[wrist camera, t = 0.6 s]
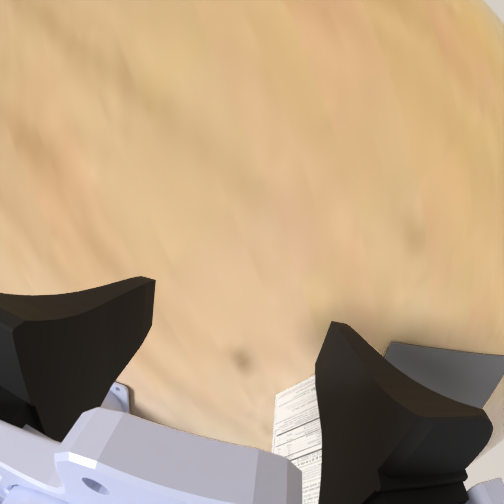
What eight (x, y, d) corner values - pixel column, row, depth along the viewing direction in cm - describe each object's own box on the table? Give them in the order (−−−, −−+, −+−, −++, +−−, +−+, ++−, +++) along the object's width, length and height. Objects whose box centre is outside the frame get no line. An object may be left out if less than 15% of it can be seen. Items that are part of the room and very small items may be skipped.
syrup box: (361, 401, 25) (393, 542, 11) (306, 428, 26) (309, 564, 12) (331, 362, 24) (359, 525, 10) (271, 394, 25) (258, 548, 11)
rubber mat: (332, 449, 27) (332, 451, 26) (391, 341, 23) (392, 343, 22) (448, 448, 26) (449, 450, 26) (512, 356, 22) (513, 357, 22)
